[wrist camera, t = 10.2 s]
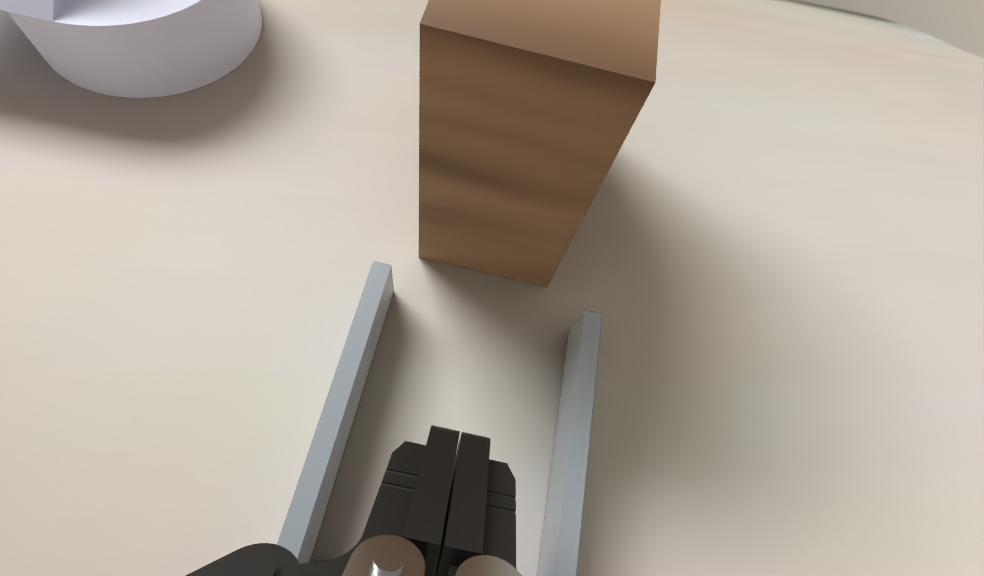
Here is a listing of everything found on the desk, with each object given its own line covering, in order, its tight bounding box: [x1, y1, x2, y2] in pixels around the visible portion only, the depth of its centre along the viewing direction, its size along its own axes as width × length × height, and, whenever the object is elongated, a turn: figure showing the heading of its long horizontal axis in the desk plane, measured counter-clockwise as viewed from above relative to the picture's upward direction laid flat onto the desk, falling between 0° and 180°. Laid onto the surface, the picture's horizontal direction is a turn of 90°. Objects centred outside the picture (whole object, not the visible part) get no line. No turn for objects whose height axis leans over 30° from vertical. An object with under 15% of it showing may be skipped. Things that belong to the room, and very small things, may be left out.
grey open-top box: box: [277, 261, 602, 576], centre depth 15 cm, size 12×8×2 cm, turn 169°
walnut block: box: [419, 0, 661, 287], centre depth 17 cm, size 9×5×10 cm, turn 169°
